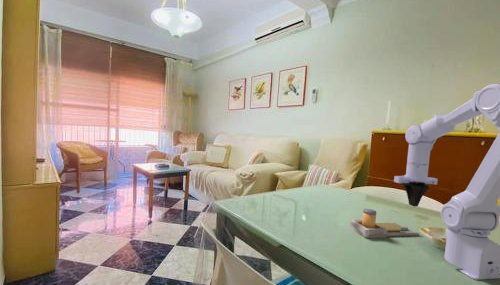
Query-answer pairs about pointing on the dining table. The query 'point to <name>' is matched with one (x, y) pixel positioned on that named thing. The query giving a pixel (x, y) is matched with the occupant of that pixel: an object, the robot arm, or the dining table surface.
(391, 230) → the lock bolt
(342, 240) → the dining table surface
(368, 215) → the cylinder
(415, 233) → the mount
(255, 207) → the dining table surface
